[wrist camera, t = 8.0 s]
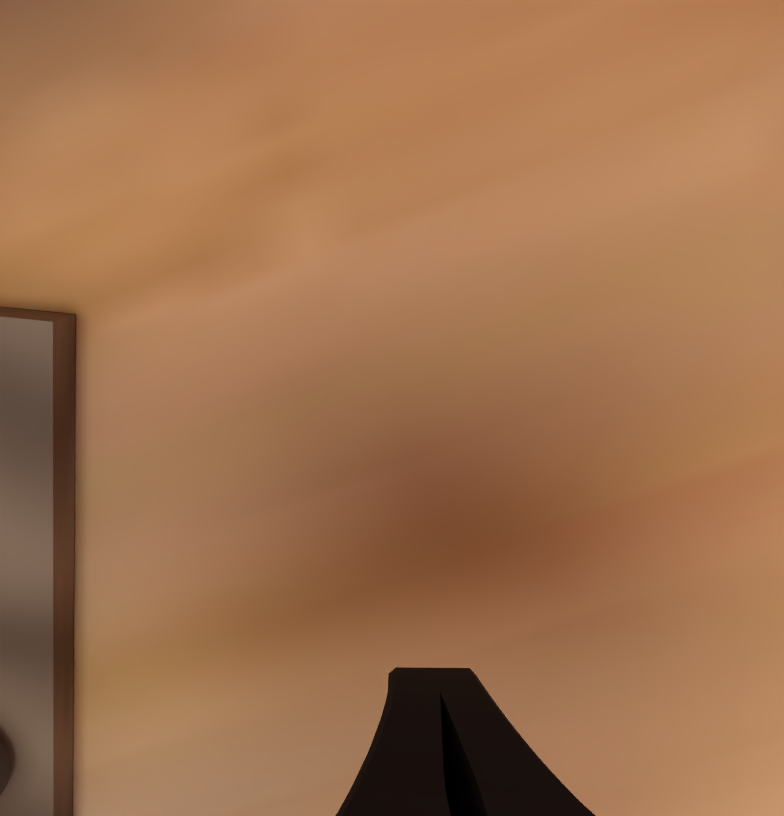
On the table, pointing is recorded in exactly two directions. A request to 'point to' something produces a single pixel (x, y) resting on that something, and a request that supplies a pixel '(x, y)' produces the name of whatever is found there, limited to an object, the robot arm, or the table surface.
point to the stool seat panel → (37, 559)
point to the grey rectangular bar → (4, 768)
